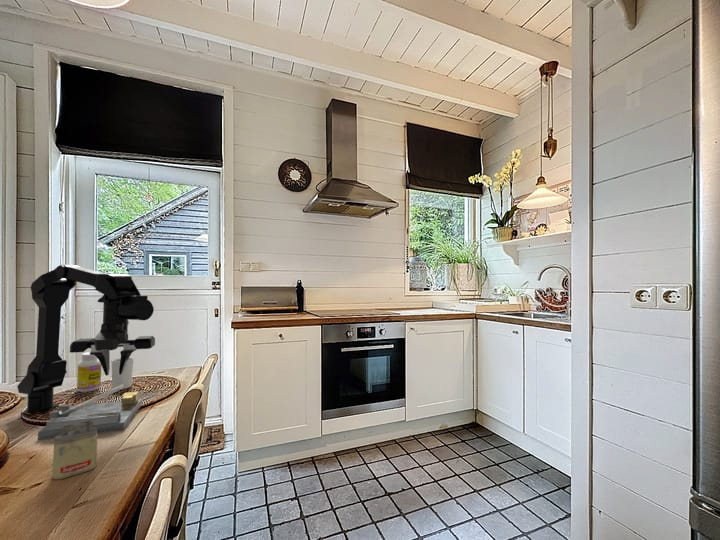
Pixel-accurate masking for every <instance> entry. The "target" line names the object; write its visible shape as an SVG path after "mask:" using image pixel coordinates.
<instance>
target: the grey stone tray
mask: <svg viewBox="0 0 720 540" xmlns="http://www.w3.org/2000/svg"><path fill="white" fill-rule="evenodd" d="M77 405H78V404H77ZM77 405H71V406H70V404H61V405H59V406H58V410H51V411H49V420H48V421H46V423H45V424H46V425H45V426H43V428H41V429H40V430H39V431H37V441H42V440H43V441H44V440H50V439H54V438H55V437H56V436H57V435H59V434H62V433H63V432H62V431H63V430H62V426H65V425H72V424H77V423H81V422H85V421H87V420H89V419H92V422H93V426H92V427H96V428H97V434H100V433H101V434H102V433H110V432H111V433H112V432H118V431H120V432H121V431H124V430H125V429H126V427H127V426H128V425H129V424H130V422H131V421H132V419H133V418H134V417H135V416H136V414H137V412H139V410H140V409H141V407H142V406H143V399H142V398H138V401H137V403H136V404H127V405H122V400H119V401H110V402H109V401H107V402H99V403H96V402H95V403H91V404H89V405H87V406H85V407H83V408H81V409H79V410H77V411H75V412H73V413H70V414H68V415H66V416H64V417H62V418H61V412H64V411H66V410H68V409H71V408H73V407H75V406H77ZM141 405H142V406H141ZM83 424H86V423H83ZM70 427H71V426H70ZM84 428H87V427H84ZM81 429H83V428H81ZM71 431H73V430H71ZM68 432H70V431H68Z"/></svg>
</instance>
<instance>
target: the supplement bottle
mask: <svg viewBox="0 0 720 540" xmlns="http://www.w3.org/2000/svg"><path fill="white" fill-rule="evenodd" d="M90 352H91V351H87V352H82V353H81V358H82V359H81V360H80V361H79V362H78V363H77V375H76V377H77V378H76V379H77V380H76V390H77V392H81V393H87V391H88V392H93V391H96V390H98V389H100V388H101V386H102V385H101V384H102V382H101V381H102V379H101V378H102V365H101V363H100V361H99V359H98V358H97V357H96V356H95V355H90Z"/></svg>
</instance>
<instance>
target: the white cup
mask: <svg viewBox="0 0 720 540" xmlns="http://www.w3.org/2000/svg"><path fill="white" fill-rule="evenodd" d="M134 359H135V358H134V357H131V356H130V357H129V359H128V361H127V363H126V366H125V368H124V370H123V373H122V374H121V375H119V367H120V360H121V357H118V358H113V359H112V360H111V389H113V388H115V387H117V386H119V385H121V384H124V387H123V388H122V389H121V390H123V389H128V388H131V387H132V383H133V371H134Z"/></svg>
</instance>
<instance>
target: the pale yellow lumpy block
mask: <svg viewBox="0 0 720 540" xmlns="http://www.w3.org/2000/svg"><path fill="white" fill-rule="evenodd" d="M139 395H140V393H139V391H129V392H124V393H123V394H121V401H122V405H127V404H136V403H137V401H138V400H139V399H140V398H139Z"/></svg>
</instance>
